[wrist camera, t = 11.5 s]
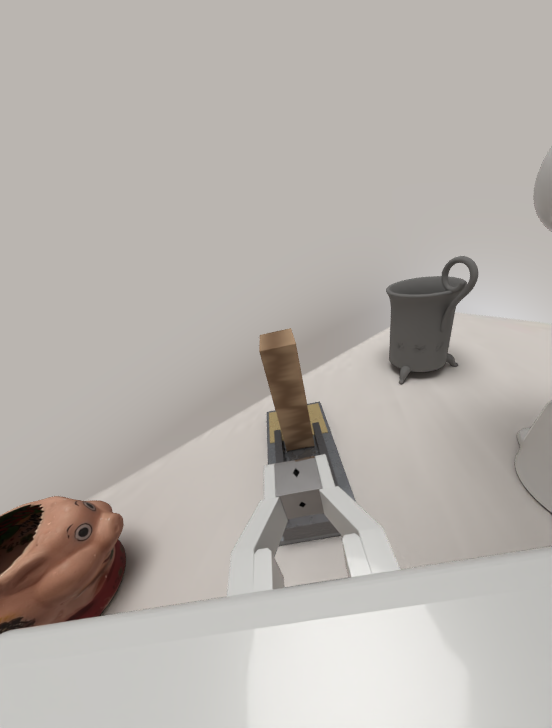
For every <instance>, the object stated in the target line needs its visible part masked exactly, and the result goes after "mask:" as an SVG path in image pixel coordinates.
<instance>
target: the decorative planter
mask: <svg viewBox="0 0 552 728" xmlns="http://www.w3.org/2000/svg"><path fill="white" fill-rule="evenodd" d="M123 525H124V524H123V518H122V516H121V515H120V514H117V513H113V512H112V508H111V506H110V505H109V504H108V503H106V502H103V501H80V500H74V499H69V498H65V497H59V496H54V497H49V498H46V499H42V500H38V501H34V502H30V503H27V504H24V505H21V506H19V507H16V508H14V509H12V510H10V511H8V512H6V513H4V514H2V515H0V634H2V633H4V632H6V631H9V630H14V629H20V628H27V627H34V626H40V625H47V624H53V623H59V622H66V621H72V620H78V619H85V618H91V617H98V616H100V614H101V613H102V612H103V610H104V609H105V608H106V607H107V605H108V604H109V602H110V601H111V600H112V598H113V596H114V594H115V592H116V591H117V589H118V587H119V584H120V582H121V580H122V577H123V574H124V570H125V563H126V556H125V550H124V547H123V545H122V544H121V542H120V541H119V540H118V538H119V536H120V534H121V532H122V529H123Z"/></svg>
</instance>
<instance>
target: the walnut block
mask: <svg viewBox="0 0 552 728" xmlns="http://www.w3.org/2000/svg"><path fill="white" fill-rule="evenodd" d="M260 355H261V359H262V362H263V366H264V370H265V373H266V377H267V381H268V384H269V388H270V392H271V395H272V399H273V403H274V406H275V410H276V413H277V417H278V421H279V424H280V428H281V432H282V435H283V439H284V443H285V446H286V450H287V451H290V450H295V449H300V448H306V447H311V446H315V444H314V439H313V434H312V428H311V423H310V417H309V412H308V407H307V401H306V396H305V390H304V385H303V380H302V374H301V369H300V364H299V358H298V353H297V348H296V343H295V340H294V337H293V333H292V330H291V328H290V329H285V330H281V331H276V332H272V333H267V334H263V335H260Z"/></svg>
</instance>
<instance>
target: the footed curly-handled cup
mask: <svg viewBox="0 0 552 728" xmlns="http://www.w3.org/2000/svg"><path fill="white" fill-rule="evenodd" d="M456 263H464V264H465V265H467V267H468V268H469V271H470V280H469V282H468V284H467V282H466V281H465V280H463V279H459V278H455V277H448V273H449V270H450V268H451V267H452V266H453V265H454V264H456ZM477 278H478V268H477V266H476V264H475V262H474V261H473V260H472V259H470V258H468V257H465V256H460V257H456V258H453V259H452V260H450V261H449V262H448V263H447V264H446V265H445V267H444V269H443V271H442V276H437V277H421V278H414V279H409V280H404V281H400V282H397V283H394V284H392V285H390V286H389V287H388V288H387V289H386V292H387V294H388V295H389V298H390V302H391V325H390V351H389V360H390V362H391V363H392V364H393V365H395V366H396V367H398V368H401V370H400V381H399V383H400V384H402V383H403V382H404V381H405V379H406V377H407V376H408V374H409V373H410V371H414V372H427V371H433V370H437V369H439V368H441V367H443V366H444V365H445V363H446V362H448V363H449V364H450V365H452V366H458V363H455V360H454V357H453V356H452V355H450V354H448V347H449V342H450V336H451V330H452V325H453V319H454V314H455V309H456V305H457V304H458V303H459V302H460V301H461V300H462V299H463V298H464V297H465V296H466V295H467V294H468V293H469V292H470V291H471V290H472V289H473V287H474V286H475V284H476V282H477Z"/></svg>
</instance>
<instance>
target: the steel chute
mask: <svg viewBox="0 0 552 728" xmlns="http://www.w3.org/2000/svg"><path fill="white" fill-rule="evenodd" d="M307 407H308V412H309V417H310V423H311V428H312V434H313V439H314V444H315V446H311V447H306V448H300V449H295V450H290V451H287V450H286V446H285V443H284V439H283V435H282V432H281V428H280V424H279V421H278V417H277V413H276V410H275V411H270V412H267V444H268V465H269V464H275V463H281V462H287V461H293V460H296V459H301V458H306V457H311V456H318V455H323V454H325V455H326V457H327V460H328V463H329V467H330V470H331V474H332V477H333V480H334V484H335V487H336V486H339V487H340V488H341V489H342V490H343V491H344V492H345V493H346V494H347V495H349V496H350V497H351V498H352V499H353V500H354V501H355V499H354V496H353V493H352V490H351V488H350V485H349V482H348V479H347V476H346V473H345V471H344V468H343V465H342V462H341V459H340V457H339V454H338V451H337V448H336V445H335V443H334V440H333V437H332V434H331V431H330V428H329V426H328V423H327V420H326V417H325V414H324V412H323V409H322V406H321V403H320V402H315V403H310V404H307ZM340 535H341V534H340V533H339V532H338V531H337V529H336V528H335V527H334V526H333V524H332V523H331V522H330V521H329V519H328V518H327V517H326V516H325V514H324V513H322V514H315V515H308V516H302V517H298V518H293V519H288V522H287V524H286V527H285V530H284V533H283V535H282V538H281V541H280V543H279V546H280V545H286V544H292V543H298V542H304V541H310V540H316V539H322V538H328V537H334V536H340Z"/></svg>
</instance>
